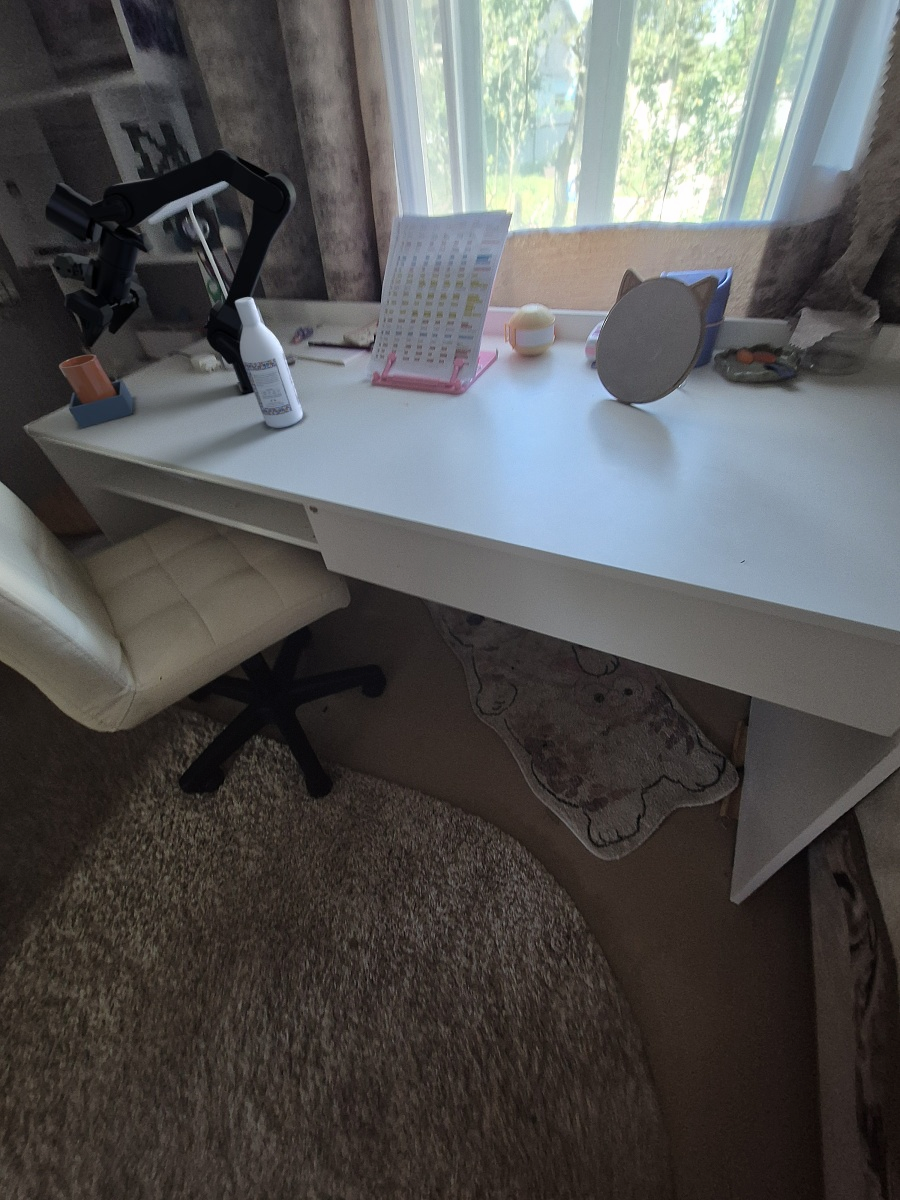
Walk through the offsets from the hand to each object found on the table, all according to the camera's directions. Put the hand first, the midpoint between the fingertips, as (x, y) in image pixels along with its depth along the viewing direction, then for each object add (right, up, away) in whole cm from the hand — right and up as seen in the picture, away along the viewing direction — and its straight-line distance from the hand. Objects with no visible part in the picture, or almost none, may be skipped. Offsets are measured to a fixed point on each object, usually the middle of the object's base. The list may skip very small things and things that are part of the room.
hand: (100, 339), depth 103 cm
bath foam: (+38, -18, -6) cm, 43 cm away
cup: (-3, -12, +6) cm, 14 cm away
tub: (-3, -12, +7) cm, 14 cm away
